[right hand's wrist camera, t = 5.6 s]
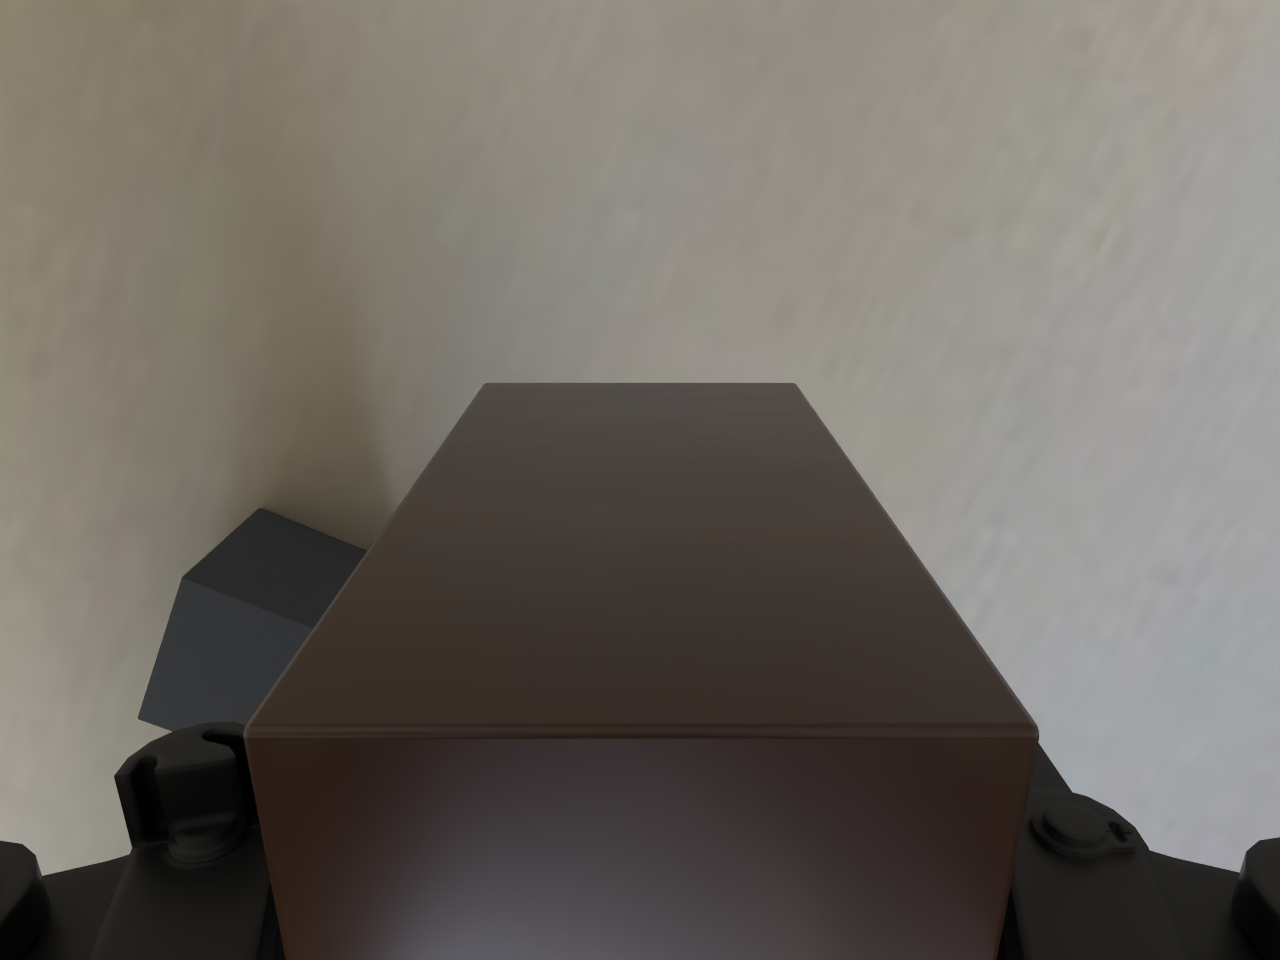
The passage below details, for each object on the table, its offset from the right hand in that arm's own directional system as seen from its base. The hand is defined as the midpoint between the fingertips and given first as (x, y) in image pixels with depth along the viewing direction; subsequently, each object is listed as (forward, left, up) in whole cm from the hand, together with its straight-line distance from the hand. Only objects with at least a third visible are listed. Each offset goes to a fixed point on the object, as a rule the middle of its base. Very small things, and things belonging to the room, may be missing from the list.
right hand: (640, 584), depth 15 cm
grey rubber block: (+12, -5, -13) cm, 18 cm away
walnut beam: (+7, +5, 0) cm, 9 cm away
